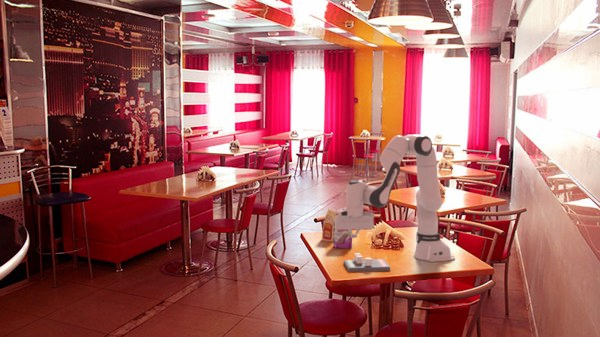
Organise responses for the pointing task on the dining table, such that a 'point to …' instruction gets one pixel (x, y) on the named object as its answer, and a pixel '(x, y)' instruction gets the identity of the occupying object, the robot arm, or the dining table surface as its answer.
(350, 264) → the breaker panel
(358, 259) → the handle middle
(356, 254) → the handle back
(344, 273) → the dining table surface
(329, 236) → the milk carton
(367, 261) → the handle
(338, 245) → the candy bar box
